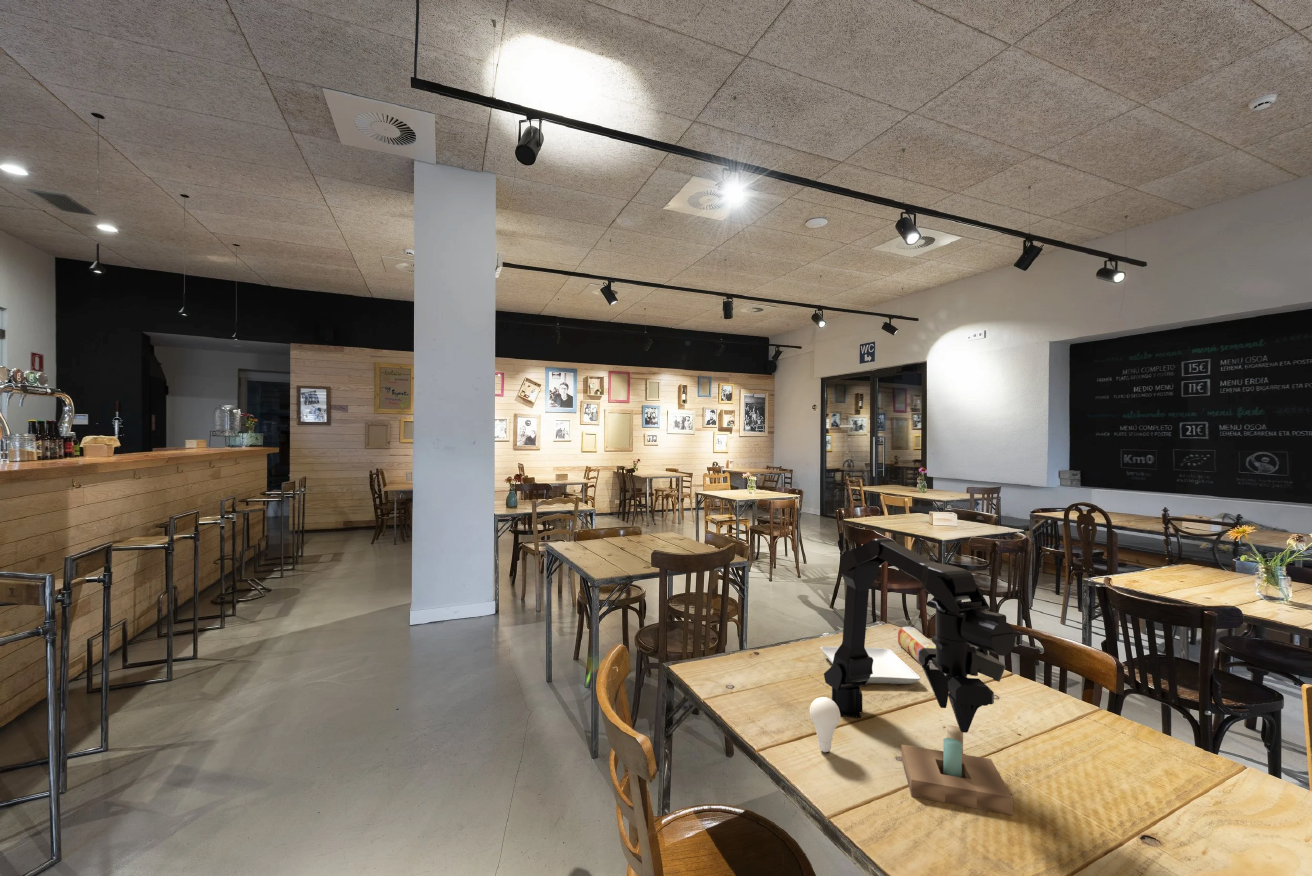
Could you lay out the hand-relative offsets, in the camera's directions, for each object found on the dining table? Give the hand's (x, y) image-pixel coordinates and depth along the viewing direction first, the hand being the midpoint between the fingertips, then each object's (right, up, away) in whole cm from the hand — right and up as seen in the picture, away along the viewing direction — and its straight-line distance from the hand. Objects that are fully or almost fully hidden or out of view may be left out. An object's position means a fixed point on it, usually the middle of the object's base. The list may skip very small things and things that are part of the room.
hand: (953, 719), depth 100 cm
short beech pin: (+6, -13, +10) cm, 17 cm away
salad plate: (+4, -14, +51) cm, 53 cm away
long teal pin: (0, -12, 0) cm, 12 cm away
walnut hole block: (0, -12, 0) cm, 12 cm away
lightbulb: (-21, -13, +10) cm, 26 cm away
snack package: (+24, -14, +60) cm, 66 cm away
